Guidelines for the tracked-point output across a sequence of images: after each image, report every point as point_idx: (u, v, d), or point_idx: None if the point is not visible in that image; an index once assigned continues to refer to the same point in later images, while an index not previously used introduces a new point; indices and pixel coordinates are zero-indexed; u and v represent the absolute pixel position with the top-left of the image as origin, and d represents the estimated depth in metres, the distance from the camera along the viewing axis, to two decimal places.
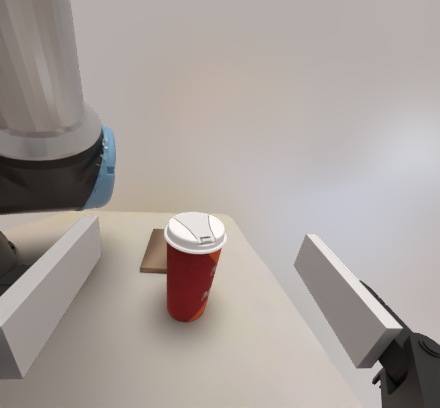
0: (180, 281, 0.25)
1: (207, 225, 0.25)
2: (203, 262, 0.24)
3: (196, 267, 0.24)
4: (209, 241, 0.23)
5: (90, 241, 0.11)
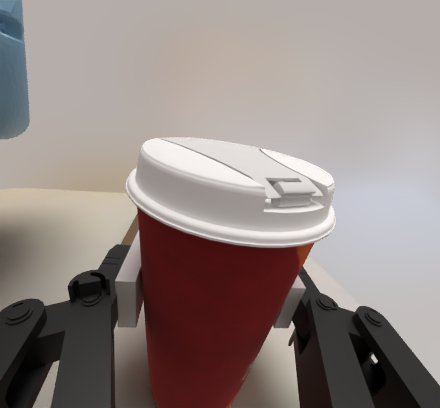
0: (182, 342, 0.07)
1: (269, 159, 0.08)
2: (272, 281, 0.06)
3: (245, 300, 0.06)
4: (306, 195, 0.05)
5: None
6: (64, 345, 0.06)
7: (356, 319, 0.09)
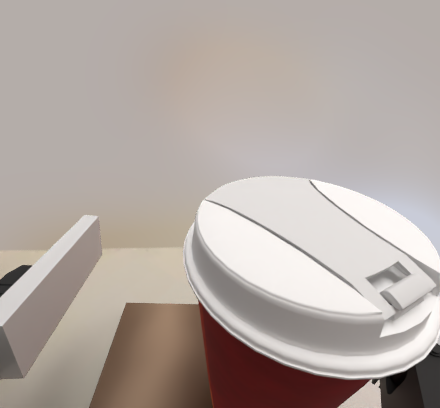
0: None
1: (337, 212, 0.07)
2: None
3: (338, 395, 0.06)
4: None
5: (90, 241, 0.11)
6: None
7: None
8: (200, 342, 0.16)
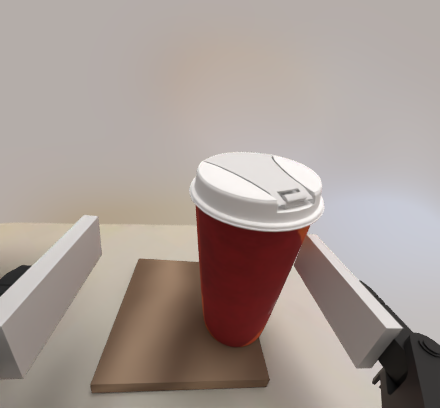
0: (231, 288, 0.12)
1: (279, 170, 0.12)
2: (284, 249, 0.10)
3: (268, 261, 0.11)
4: (301, 200, 0.09)
5: (90, 241, 0.11)
6: None
7: None
8: (195, 284, 0.22)
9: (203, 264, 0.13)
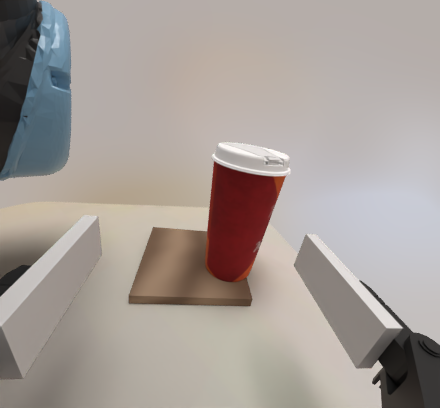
0: (232, 221, 0.19)
1: (266, 151, 0.20)
2: (266, 192, 0.18)
3: (256, 199, 0.18)
4: (276, 161, 0.17)
5: (90, 241, 0.11)
6: None
7: None
8: (198, 245, 0.28)
9: (214, 208, 0.20)
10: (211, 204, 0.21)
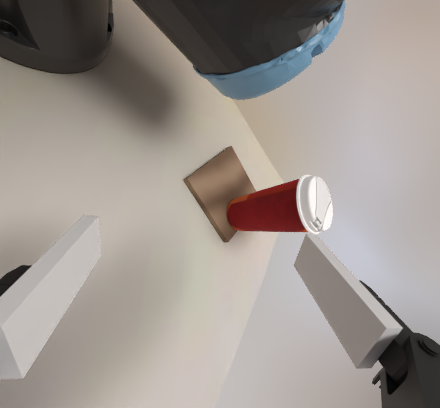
0: (264, 213, 0.28)
1: (325, 210, 0.26)
2: (294, 227, 0.26)
3: (286, 223, 0.26)
4: (317, 226, 0.24)
5: (90, 241, 0.11)
6: None
7: None
8: (238, 186, 0.37)
9: (266, 196, 0.28)
10: (268, 192, 0.28)
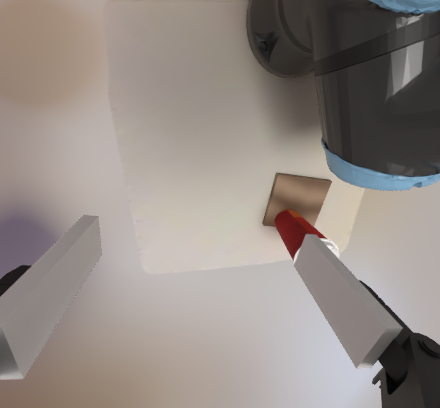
0: (289, 232, 0.39)
1: None
2: (292, 254, 0.36)
3: (291, 248, 0.37)
4: None
5: (90, 241, 0.11)
6: None
7: None
8: (306, 207, 0.46)
9: (301, 227, 0.38)
10: (305, 226, 0.38)
